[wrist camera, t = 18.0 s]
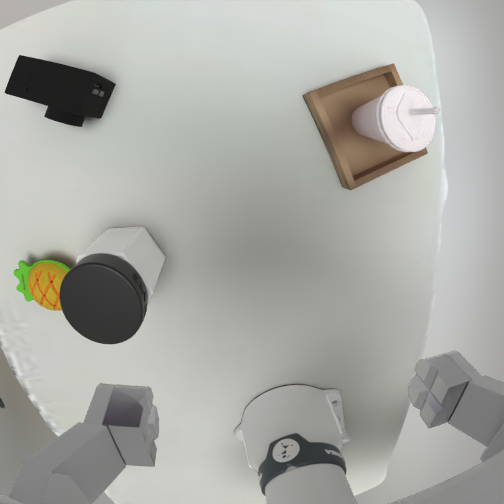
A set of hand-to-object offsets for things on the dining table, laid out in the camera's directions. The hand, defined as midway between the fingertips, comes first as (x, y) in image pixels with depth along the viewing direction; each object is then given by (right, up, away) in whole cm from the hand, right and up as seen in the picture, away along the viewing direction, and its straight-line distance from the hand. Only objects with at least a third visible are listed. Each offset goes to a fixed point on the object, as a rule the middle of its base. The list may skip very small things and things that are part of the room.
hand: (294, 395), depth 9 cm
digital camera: (-22, +22, +21) cm, 38 cm away
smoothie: (+12, +19, +25) cm, 34 cm away
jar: (-16, +3, +28) cm, 32 cm away
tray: (+12, +19, +26) cm, 34 cm away
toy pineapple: (-27, +1, +28) cm, 39 cm away
